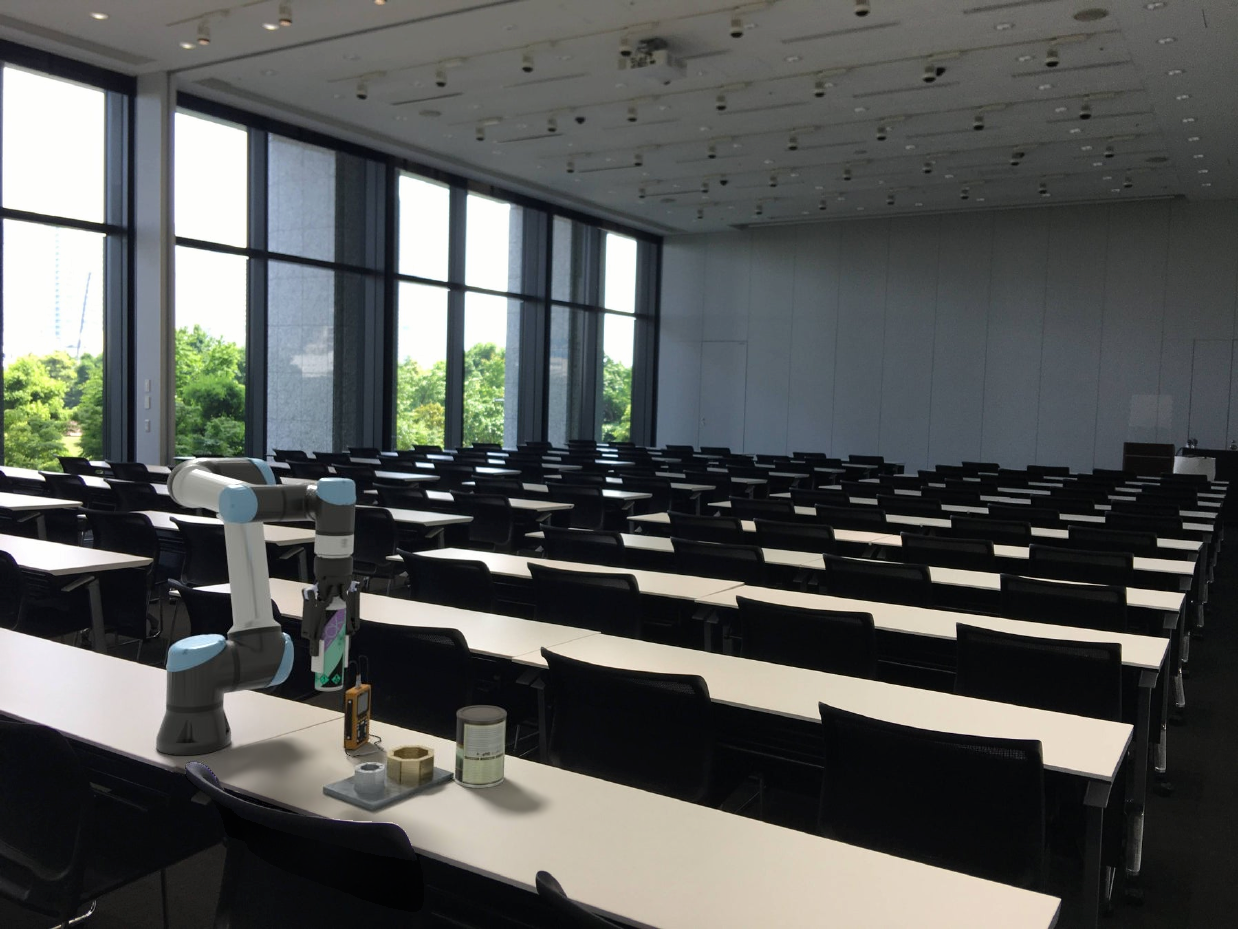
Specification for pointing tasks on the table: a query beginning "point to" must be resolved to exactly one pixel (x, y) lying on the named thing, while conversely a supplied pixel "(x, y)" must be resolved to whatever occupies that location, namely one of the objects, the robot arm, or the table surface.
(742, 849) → the table surface
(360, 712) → the multimeter
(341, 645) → the spray can
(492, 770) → the coffee can
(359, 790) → the fitting plate
